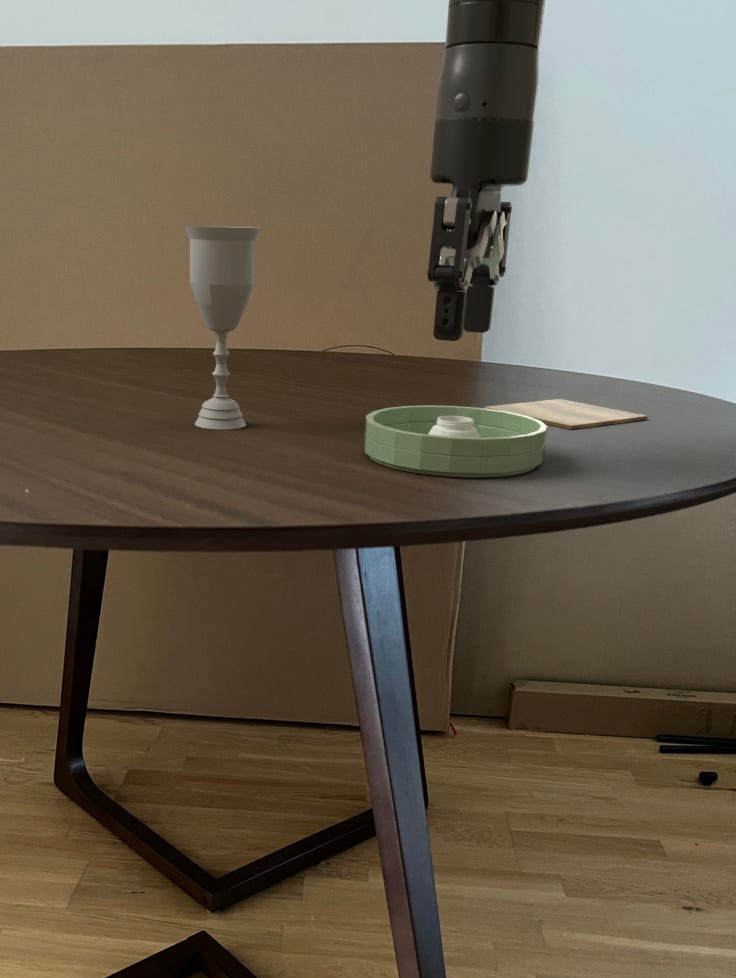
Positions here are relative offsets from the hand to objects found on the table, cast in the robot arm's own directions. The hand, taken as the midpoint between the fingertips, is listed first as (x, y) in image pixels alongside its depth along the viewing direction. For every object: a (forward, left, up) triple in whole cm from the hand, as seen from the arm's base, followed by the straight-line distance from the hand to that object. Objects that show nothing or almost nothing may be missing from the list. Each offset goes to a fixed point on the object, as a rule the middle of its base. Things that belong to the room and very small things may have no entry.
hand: (462, 335), depth 85 cm
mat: (-26, -10, -10) cm, 30 cm away
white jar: (0, 0, -10) cm, 10 cm away
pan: (0, 0, -10) cm, 10 cm away
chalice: (+10, -22, -10) cm, 26 cm away
